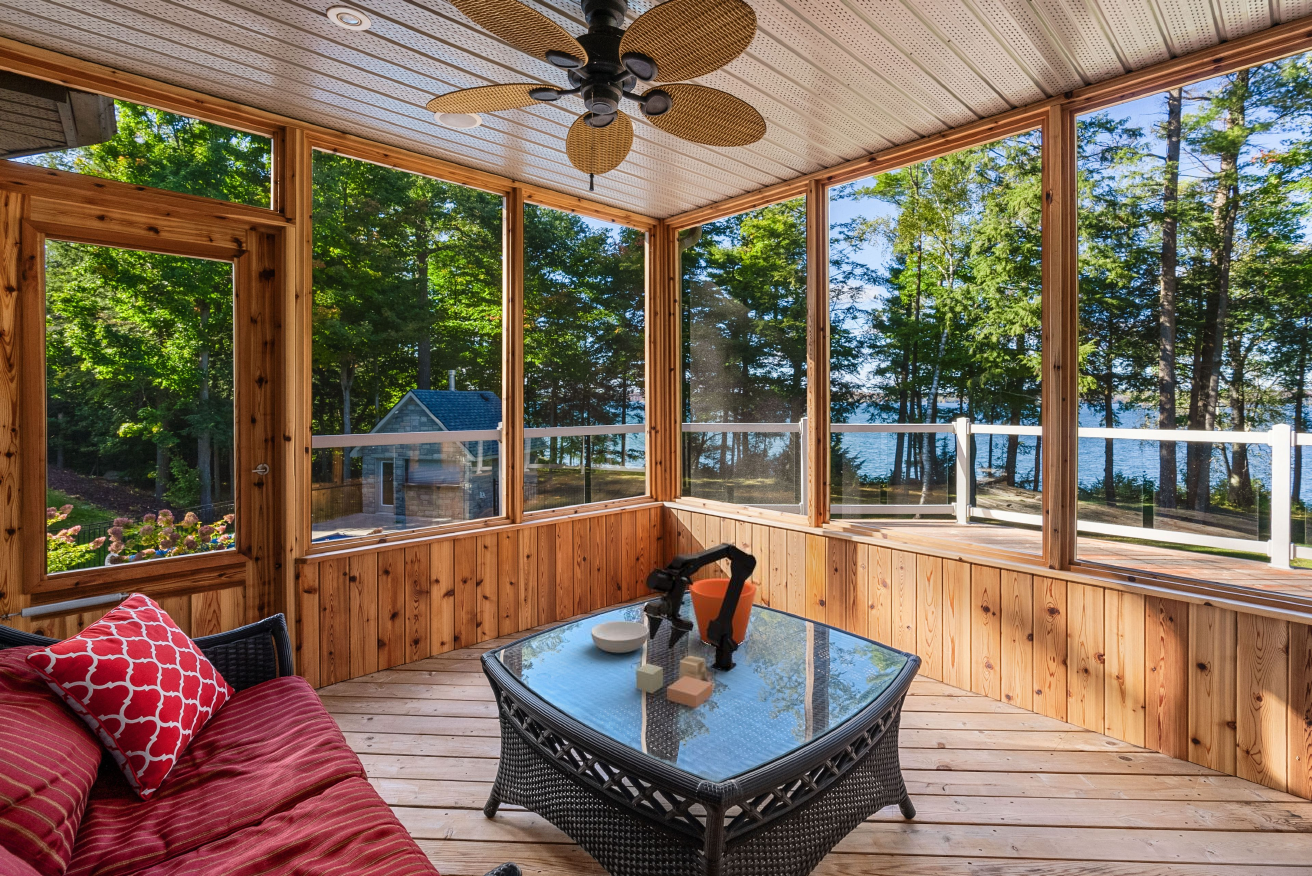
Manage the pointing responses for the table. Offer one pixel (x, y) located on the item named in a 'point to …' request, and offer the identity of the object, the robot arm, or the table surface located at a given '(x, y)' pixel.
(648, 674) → the sage green cube
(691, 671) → the maple cube
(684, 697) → the terracotta base block
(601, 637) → the serving bowl
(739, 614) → the flowerpot
